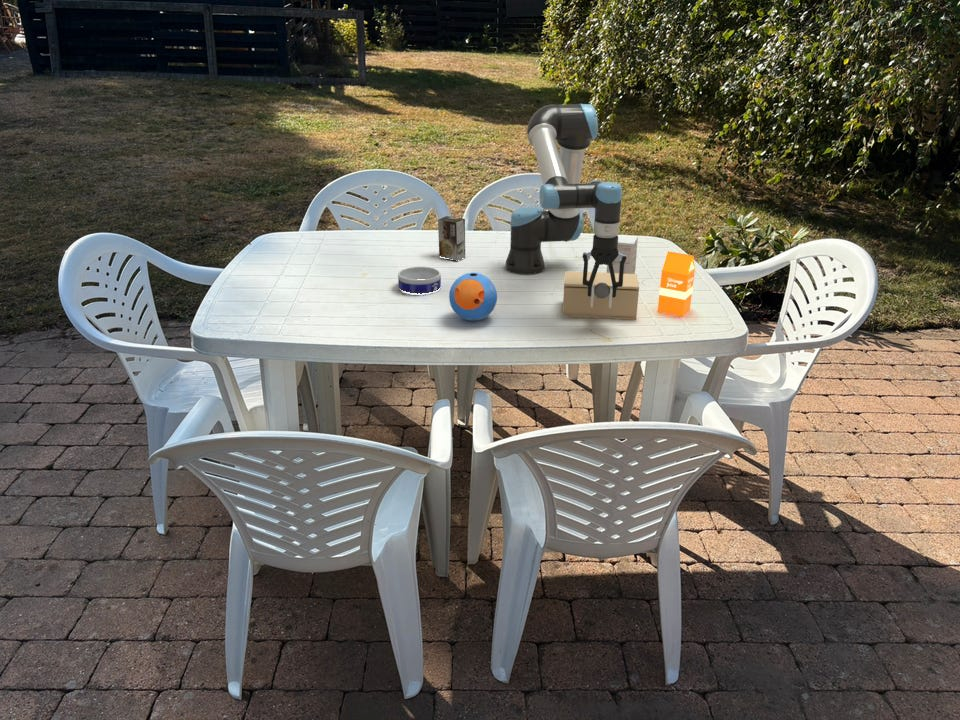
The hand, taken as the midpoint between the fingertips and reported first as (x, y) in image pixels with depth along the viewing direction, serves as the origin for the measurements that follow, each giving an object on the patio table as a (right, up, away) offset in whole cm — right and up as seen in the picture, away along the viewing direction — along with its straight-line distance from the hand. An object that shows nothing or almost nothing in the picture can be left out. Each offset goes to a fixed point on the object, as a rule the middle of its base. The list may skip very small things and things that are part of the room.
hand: (600, 305), depth 245 cm
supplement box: (+13, +11, +40) cm, 43 cm away
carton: (+2, 0, +15) cm, 16 cm away
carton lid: (+1, +6, +7) cm, 9 cm away
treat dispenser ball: (-40, -4, +9) cm, 42 cm away
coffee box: (-49, +24, +66) cm, 86 cm away
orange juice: (+27, -1, +15) cm, 31 cm away
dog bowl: (-60, +8, +35) cm, 70 cm away
